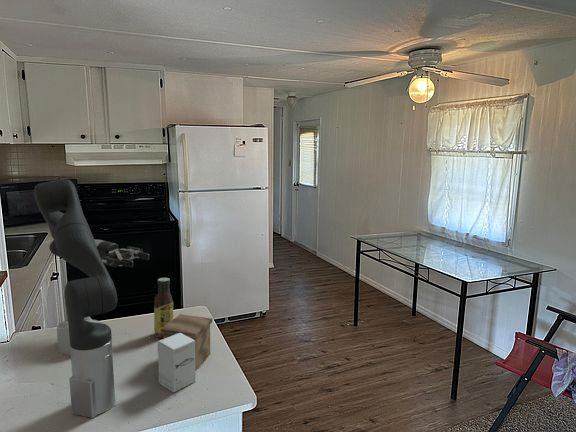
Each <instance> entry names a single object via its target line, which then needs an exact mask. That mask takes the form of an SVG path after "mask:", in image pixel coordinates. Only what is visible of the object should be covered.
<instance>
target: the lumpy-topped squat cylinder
mask: <svg viewBox="0 0 576 432" xmlns="http://www.w3.org/2000/svg"><path fill="white" fill-rule="evenodd" d="M84 320H85V321H89V322H96V323H102V322H101V321H99V320H97V319H94V318H93V319H92V318H91V316H90V317H85V318H84ZM56 336H57V347H58V350H59V352H60V353H63V354H66V355H71V351H70V338H69V326H68V319H67V320H64V321H61V322H60V323H58V325H57V326H56Z"/></svg>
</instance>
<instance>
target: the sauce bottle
mask: <svg viewBox="0 0 576 432" xmlns="http://www.w3.org/2000/svg"><path fill="white" fill-rule="evenodd" d="M170 283H171V279H170V278H169V277H159V278H158V279H157V294H156V295H155V297H154V306H153V309H154V315H153V318H154V319H153V320H154V322H153V323H154V325H153V326H154V327H153V329H154V336H155V337H156V338H162V339H164V333H161V329H162V328H163V327H164V326H166V325H167V324H168V323H170V322H171V321H172V320H173V319H174V300H173V297H172V294H171V291H170Z"/></svg>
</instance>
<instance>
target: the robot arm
mask: <svg viewBox="0 0 576 432" xmlns="http://www.w3.org/2000/svg"><path fill="white" fill-rule="evenodd" d="M33 193H34V200H35V203H36V205H37V207H38V210H39V212H40V214H41V215H42V217H43V219H44V220H45V222H46V224H47V225H48V229H49V231H50V236H51V237H52V239H53V240H52V241H51V242H50V244H49V247H48V248H49V251H50V253H52V254H53V255H54V256H56V257H60V258H62V259H63V260H64V261H65V262H67V264H70V265H71V266H73V267H74V268H77V269H78V270H80V271H81V272H83V273H84V274H86V275H87V276H88V277H84V278H77V279H73V280H70V281H67V283H65V287H64V302H65V303H64V304H65V310H66V316H67V320H68V326H69V338H70V351H71V354H70V362H71V376H70V377H69V379H68V380H69V390H70V391H69V393H70V405H71V406H70V407H71V414H72V415H77V416H82V417H86V418H91V419H94V418H95V417H96V416H97V415H101V414H103V413H106V412H107V411H108V410H110V409H111V408H113V406H114V405H115V403H116V394H115V389H116V388H115V374H114V360H113V359H114V357H113V340H112V339H113V337H112V330H111V327H110V326H109V325H108V324H106V323H102V322H101V323H96V322H89V321H85V320H84V318H85V317H90V318H91V317H93V316H98V315H103V314H106V313H110V312H112V311H114V310H115V309H116V308H117V303H118V294H117V290H116V286H115V283H114V281H113V279H112V278H111V275H110V273H109V271H108V269H107V268H106V266H108V267H111V268H117V267H127V268H131V269H132V268H134V261H133V260H134V259H140V260H141V259H142V260H144V261H145V260H146V261H149V260H150V258H151V257H150V256H151V255H150V254H149V253H148V252H147V253H146V252H144V250H143V248H140V247H134V246H130V245H129V246H127V248H121V247H120V246H119V245H118V244H117V243H115V242H111V241H107V240H102V239H95V238H94V236H93V234H92V231H91V228H90V226H89V223H88V221H87V218H86V217H85V214H84V212H83V208H82V205H81V201H80V198H79V195H78V191H77V188H76V186H75V184H74V183H73V181H72V180H70V179H63V178H62V179H58V180H57V179H56V180H51V181H46V182H41V183H38V184H36V185H35V186H34V189H33ZM61 211H62V212H61ZM63 211H65V212H64V213H63Z"/></svg>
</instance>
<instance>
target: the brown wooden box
mask: <svg viewBox="0 0 576 432" xmlns="http://www.w3.org/2000/svg"><path fill="white" fill-rule="evenodd" d="M211 324H213V318H212V317H204V316H195V315H190V314H189V315H188V314H182V313H180V314H178V315H177V316H176V317H175V318H173V320H172V321H171V322H170V323H168V324H167V325H166V326H164V327H163V328H162V329H161V333H164V338H163V339H165V338H168V337H170V336H173V335H175V334H178V333H182V334H184V335H186V336H188V337H190V338H192V339H193V340H195V371H196V370H197V369H200V368H201V366H202V365H203V364H204V363H205V362H206V360H207V359H208V358H209V357H210V356H211ZM209 355H210V356H209ZM208 356H209V357H208ZM207 357H208V358H207ZM206 358H207V359H206ZM204 361H205V362H204ZM203 362H204V363H203ZM202 363H203V364H202ZM201 364H202V365H201ZM200 365H201V366H200ZM197 371H198V370H197ZM197 371H196V372H197Z"/></svg>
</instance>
